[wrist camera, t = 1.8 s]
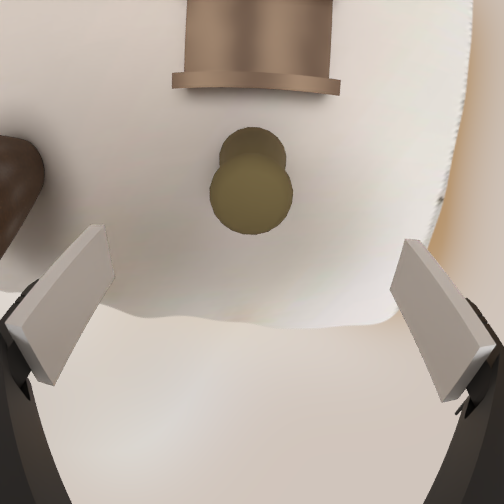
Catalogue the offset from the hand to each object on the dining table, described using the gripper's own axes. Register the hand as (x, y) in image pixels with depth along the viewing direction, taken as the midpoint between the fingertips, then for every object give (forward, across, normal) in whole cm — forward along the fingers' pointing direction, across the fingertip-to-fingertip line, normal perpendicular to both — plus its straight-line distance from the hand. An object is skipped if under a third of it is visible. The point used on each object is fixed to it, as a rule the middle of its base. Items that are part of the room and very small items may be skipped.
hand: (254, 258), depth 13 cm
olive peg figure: (+17, 0, 0) cm, 17 cm away
